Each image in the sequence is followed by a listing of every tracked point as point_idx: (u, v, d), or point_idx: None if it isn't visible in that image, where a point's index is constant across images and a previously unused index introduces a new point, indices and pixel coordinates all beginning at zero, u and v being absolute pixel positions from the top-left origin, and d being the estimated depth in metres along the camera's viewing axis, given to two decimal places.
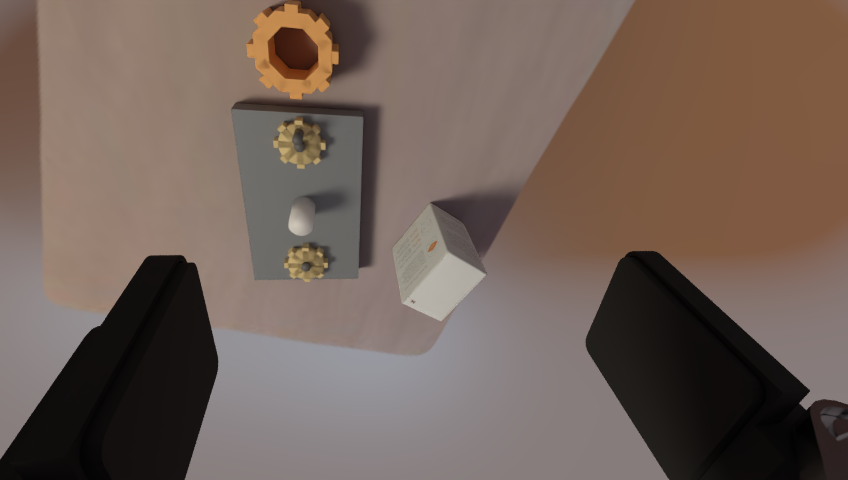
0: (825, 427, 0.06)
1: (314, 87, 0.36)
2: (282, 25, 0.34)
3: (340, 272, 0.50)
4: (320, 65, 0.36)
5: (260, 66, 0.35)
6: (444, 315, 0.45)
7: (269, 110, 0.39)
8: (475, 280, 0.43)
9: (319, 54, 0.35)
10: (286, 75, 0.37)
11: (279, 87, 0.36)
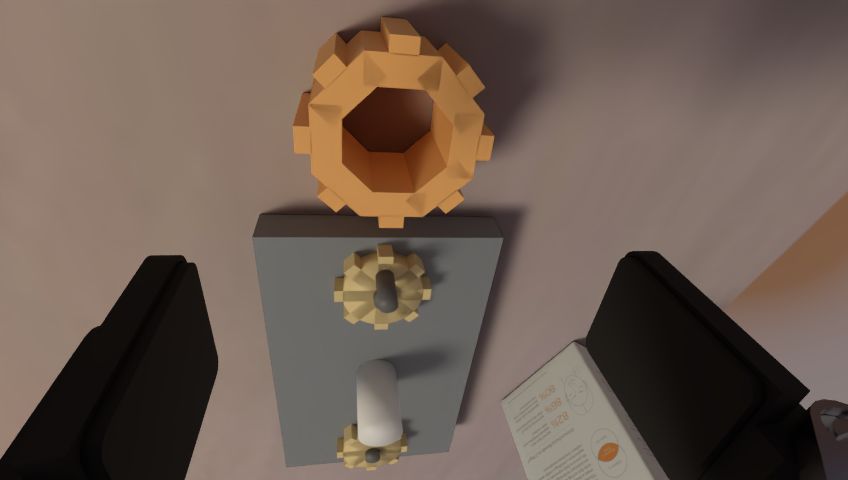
0: (825, 427, 0.06)
1: (432, 205, 0.17)
2: (379, 83, 0.14)
3: (422, 447, 0.31)
4: (451, 164, 0.16)
5: (321, 171, 0.15)
6: None
7: (327, 234, 0.20)
8: None
9: (453, 142, 0.16)
10: (371, 178, 0.17)
11: (359, 209, 0.17)
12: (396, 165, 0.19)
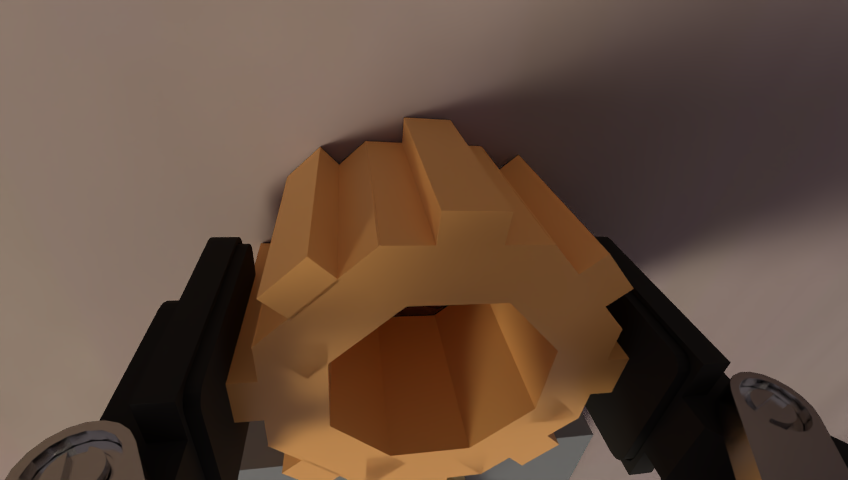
0: (745, 401, 0.06)
1: (499, 459, 0.09)
2: (412, 301, 0.06)
3: None
4: (544, 403, 0.08)
5: (289, 440, 0.08)
6: None
7: None
8: None
9: (552, 374, 0.08)
10: (386, 406, 0.09)
11: (366, 478, 0.09)
12: (427, 354, 0.11)
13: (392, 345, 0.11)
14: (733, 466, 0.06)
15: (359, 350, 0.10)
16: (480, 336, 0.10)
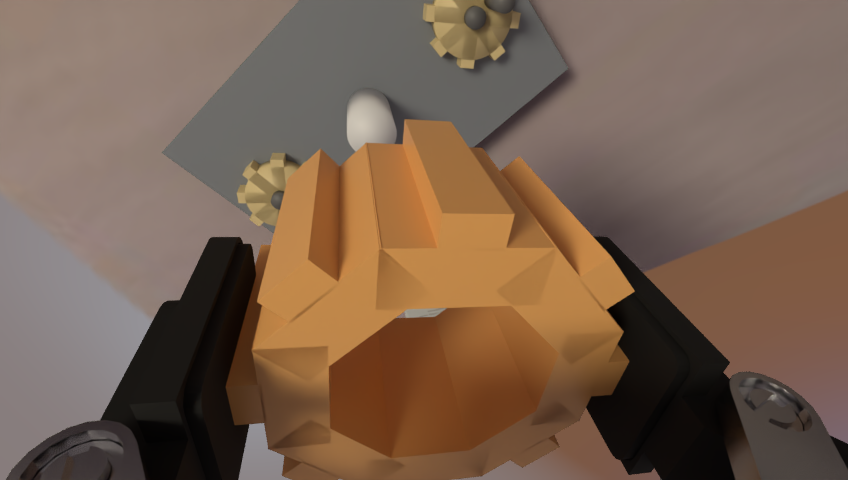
0: (744, 401, 0.06)
1: (499, 461, 0.09)
2: (413, 304, 0.06)
3: None
4: (545, 406, 0.08)
5: (289, 443, 0.08)
6: None
7: None
8: None
9: (553, 377, 0.08)
10: (386, 408, 0.09)
11: None
12: (427, 356, 0.11)
13: (392, 347, 0.11)
14: (732, 466, 0.06)
15: (359, 352, 0.10)
16: (480, 338, 0.10)
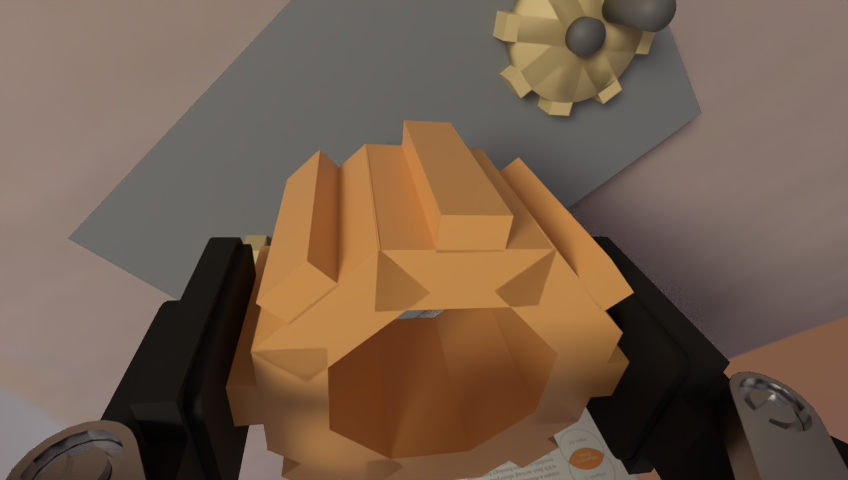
0: (744, 400, 0.06)
1: (499, 462, 0.09)
2: (412, 305, 0.06)
3: None
4: (544, 407, 0.08)
5: (289, 444, 0.08)
6: None
7: None
8: None
9: (552, 378, 0.08)
10: (386, 409, 0.09)
11: None
12: (426, 357, 0.11)
13: (392, 347, 0.11)
14: (732, 465, 0.06)
15: (359, 353, 0.10)
16: (480, 338, 0.10)
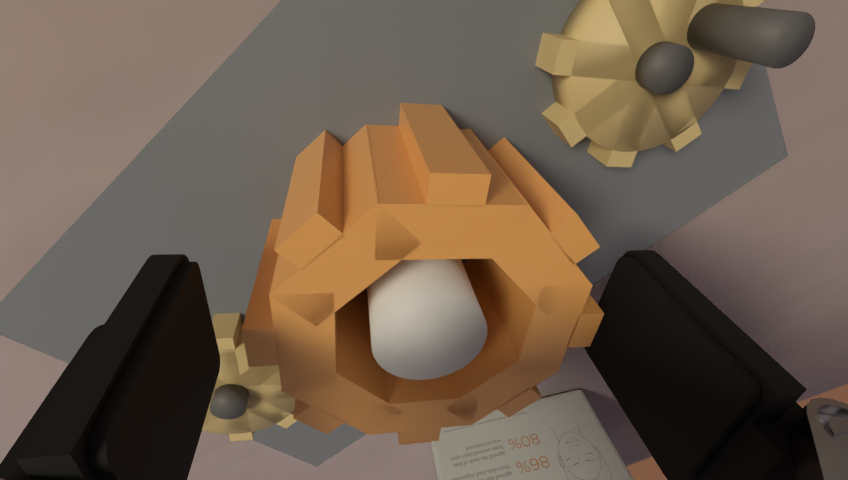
0: (821, 426, 0.06)
1: (488, 410, 0.10)
2: (407, 255, 0.07)
3: (292, 437, 0.16)
4: (526, 356, 0.09)
5: (300, 385, 0.09)
6: None
7: None
8: None
9: (532, 327, 0.09)
10: None
11: (367, 426, 0.10)
12: None
13: None
14: None
15: (361, 315, 0.11)
16: None
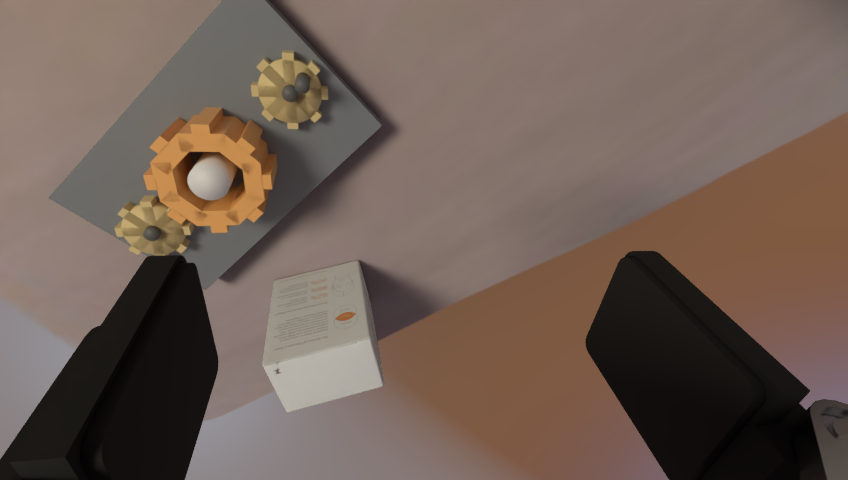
0: (825, 427, 0.06)
1: (243, 217, 0.28)
2: (190, 149, 0.25)
3: None
4: (248, 192, 0.27)
5: (166, 199, 0.26)
6: (297, 407, 0.32)
7: (288, 24, 0.26)
8: (367, 386, 0.32)
9: (245, 179, 0.27)
10: (205, 203, 0.28)
11: (196, 221, 0.27)
12: (228, 194, 0.29)
13: None
14: None
15: None
16: None
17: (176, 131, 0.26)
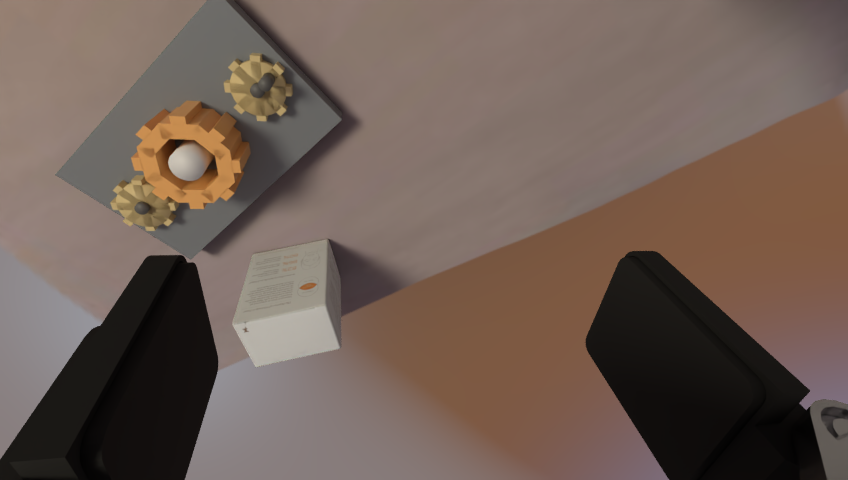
0: (825, 427, 0.06)
1: (216, 196, 0.33)
2: (170, 137, 0.30)
3: (176, 240, 0.38)
4: (220, 174, 0.32)
5: (150, 179, 0.31)
6: (264, 363, 0.37)
7: (256, 30, 0.31)
8: (325, 347, 0.37)
9: (217, 164, 0.31)
10: (185, 183, 0.33)
11: (176, 198, 0.32)
12: (207, 176, 0.34)
13: None
14: None
15: None
16: None
17: (160, 121, 0.31)
